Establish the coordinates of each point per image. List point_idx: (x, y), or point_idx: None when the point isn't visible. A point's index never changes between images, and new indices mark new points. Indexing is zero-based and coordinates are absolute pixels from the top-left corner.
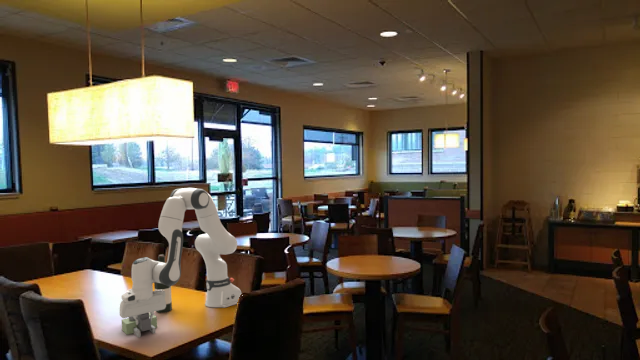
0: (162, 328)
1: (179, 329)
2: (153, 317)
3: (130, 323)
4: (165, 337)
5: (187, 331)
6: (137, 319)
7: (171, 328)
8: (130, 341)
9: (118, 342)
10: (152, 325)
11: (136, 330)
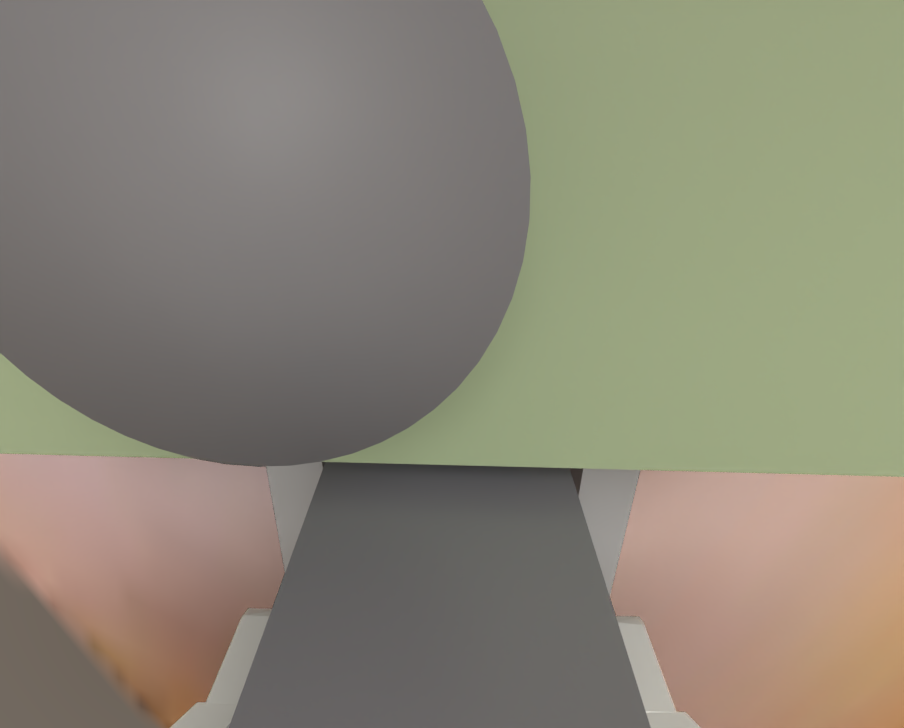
0: None
1: (868, 633)
2: (831, 462)
3: (120, 449)
4: None
5: (864, 723)
6: (298, 559)
7: (841, 544)
8: (203, 597)
9: (40, 535)
10: (624, 515)
11: (286, 556)
